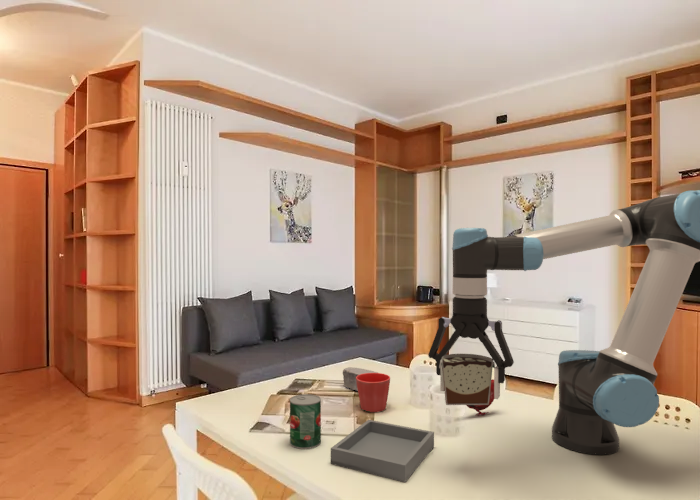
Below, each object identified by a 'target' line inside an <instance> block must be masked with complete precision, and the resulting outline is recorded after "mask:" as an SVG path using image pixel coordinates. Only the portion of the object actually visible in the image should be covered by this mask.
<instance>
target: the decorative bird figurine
mask: <svg viewBox="0 0 700 500" xmlns="http://www.w3.org/2000/svg"><path fill="white" fill-rule="evenodd" d="M494 400H495V399H494V378H493V379H492V378H491V388H490V398H489V405H465V406H467V408H469V409H470V410H471V409H473V410H475V411H476V412H477V413H476V414H475V416H485V415H486V414H488V413H490V412H489V411H483V410H486V409H488V408H489V407H490V406H491V405H492V404H493V402H494Z"/></svg>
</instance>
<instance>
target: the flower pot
mask: <svg viewBox="0 0 700 500" xmlns="http://www.w3.org/2000/svg"><path fill="white" fill-rule="evenodd" d="M356 382H357V389H358V392H357V394H358V398H359V399H358V400H359V404H360V405H359V406H360V409H361V410H362V409H363V410H366V411H370V412H369V413H381V412H383V411H385V410H386V408H387V404H388V399H389V391H390V383H391V376H390V375H389V374H386V373H381V372H378V373H364V374H360V375H358V376H357V377H356ZM363 410H362V411H363ZM366 411H365V412H366Z"/></svg>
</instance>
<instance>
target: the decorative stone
mask: <svg viewBox="0 0 700 500" xmlns="http://www.w3.org/2000/svg"><path fill="white" fill-rule="evenodd" d="M364 373H379V372H377V371H374V370H371V369H366V368H360V367H351V366H349V367H345V368H343V370H342V378H343V385H344V387H345V388H346V387H347V388H346V389H348V388H350V389H349V390H351V389H352V390H351V391H353V390H355V391H354V392H357V391H358V389H357V382H356V377H357V376H358V375H360V374H364Z"/></svg>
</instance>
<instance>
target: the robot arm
mask: <svg viewBox="0 0 700 500" xmlns="http://www.w3.org/2000/svg"><path fill="white" fill-rule="evenodd" d="M452 235H453V237H452V247H451V249H452V295H454V296H453V298H452V315H451V316H452V317H451V318H450V317H446V316H441V317H439V318H438V326H437V327H438V328H437V331H436V333H435V336H434V339H433V341H432V344H431V346H430V349H429V352H428V355H427V356H428V358H429V359H433V360H435V363H436V365H435V366H436V367H435V368H436V371H435V372H436V376H440V381H439V382H440V388H439V389H440V392H445V390H444V380H443V371H442V365H441V369H440V368H439V365H440V360H441V359H442V357H443V356H445V355H448V353H449V352H450V351H451V349H452V348H453V346H454V345H455V343H456V342H457V340H458V339H459V338H460V337H461V339H462V338H463V339H465V338H466V339H467V338H470V339H471V340H472V339H478V340H479V341H480V343H482V346H483V347H484V349H486V351H487V353H488V354H489V356H490V358H492V359H493V362H494V363H495V368H493V370H494V371H493V374H494V375H493V376H494V378H493V380H494V400H499V398H500V396H501V384H504V383H505V381H506V369H507V368H511V367H512V366H513V365H514V363H515V361H514V358H513V356H512V353H511V351H510V349H509V345H508V343H507V340H506V337H505V335H504V332H503V321H502V320H500V319H499V320H495V321H493V320H489V318H488V299H487V298H486V296H487V295H488V271H524V272H527V271H537V270H539V269H540V268H541V266H542V265H543V262H544V261H543V260H546V259H552V258H555V257H561V256H565V255H567V256H568V255H570V254H571V255H572V254H577V253H580V252H581V253H582V252H586V251H591V250H596V249H601V248H605V247H607V248H608V247H611V246H619V247H620V248H627V247H632V246H641V245H642V246H643V245H644V246H645V245H646V246H647V247H648V249H649V252H648V254H647V257H646V260H645V262H644V265H643V267H642V269H641V271H640V274H639V276H638V279H637V282H636V284H635V287H634V289H633V291H632V293H631V296H630V298H629V301H628V303H627V305H626V308H625V310H624V313H623V315H622V318H621V320H620V322H619V324H618V327H617V329H616V332H615V335H614V336H613V339H612V342H611V343H610V346H609V347H607V348H603V349H601V350H586V349H585V350H582V349H581V350H580V349H572V350H571V349H570V350H569V349H568V350H567V349H566V350H563V351H560V353H559V355H558V363H557V365H558V366H557V367H558V410H557V412H556V415H555V418H554V421H553V423H552V426H551V439H552V440H553V441H554V442H555V443H556V444H558V445H559V446H561V447H563V448H565V449H568V450H570V451H575V452H578V453H582V454H589V455H600V456H603V455H612V454H615V453H617V452H618V451H619V450H620V437H619V435H618V432H617V428H616V426H619V427H623V428H636V427H639V426H640V425H644V424H646V423H647V422H650V420H651V419H653V417H654V416H655V415H656V413H657V411H658V408H659V406H660V396H659V394H658V390H657V388H656V386H655V382H656V379H657V377H658V372H657V371H656V369H655V366H654V362H655V360H656V357H657V355H658V353H659V351H660V348H661V345H662V343H663V341H664V338H665V336H666V333H667V331H668V329H669V326H670V323H671V321H672V320H673V317H674V315H675V312H676V310H677V307H678V305H679V302H680V300H681V298H682V295H683V293H684V290H685V288H686V286H687V283H688V281H689V279H690V275H692V274H691V273H692V271H693V269H694V266H695V264H696V263H699V262H700V189H697V190H692V189H691V190H686V191H683V192H681V193H680V192H679V193H676V194H675V193H674V194H669V195H665V196H659V197H653V198H651V199H648V200H645V201H642V202H639V203H636V204H633V205H630V206H627V207H622V208H619V209H615V210H612V211H611V212H610V213H609V215H605V216H601V217H594V218H591V219H586V220H581V221H580V220H579V221H575V222H571V223H565V224H562V225H556V226H552V227H548V228H542V229H538V230H534V231H532V230H531V231H528V232H522V233H518V234H514V235H510V236H505V237H504V236H501V237H497V236H494V237H493V236H489V235H488V231H487V229H486V228H483V227H461V228H457V229H455V230H454V231H453V234H452ZM450 324H451V326H452V327H453V329H454V331H453V333H452V334H451V336H450V337H449V339H448V340H447V342H446V343H445V344H444V346H443V347H442V349H441V350H440V352H439V348H440V345H441V343H442V340H443V338H444V335H445V333H446V329H447V328H448V327H449V326H450ZM489 327H490V329H491V331H493V332H494V334H495V337H496V340H497V343H498V345H499V348H500V351H501V353H502V356H501V354H500V353H499V351H498V350H497V348H496V347H495V346H494V344H493V343H492V341H491V340H490V338H489V336H488V334H487V332H486V330H487V329H488V328H489ZM615 425H616V426H615Z"/></svg>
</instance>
